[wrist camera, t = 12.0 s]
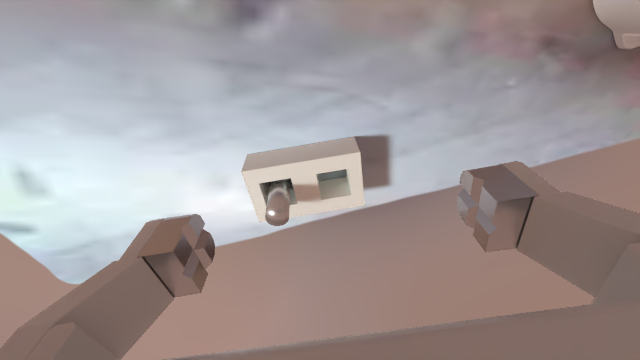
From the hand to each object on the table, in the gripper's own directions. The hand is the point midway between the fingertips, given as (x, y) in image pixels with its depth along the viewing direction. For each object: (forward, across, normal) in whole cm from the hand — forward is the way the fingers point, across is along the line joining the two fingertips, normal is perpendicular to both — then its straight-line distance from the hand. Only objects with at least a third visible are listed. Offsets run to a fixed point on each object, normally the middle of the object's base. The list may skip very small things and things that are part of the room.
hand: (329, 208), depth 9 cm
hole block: (+30, +4, +17) cm, 35 cm away
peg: (+30, +8, +17) cm, 35 cm away
